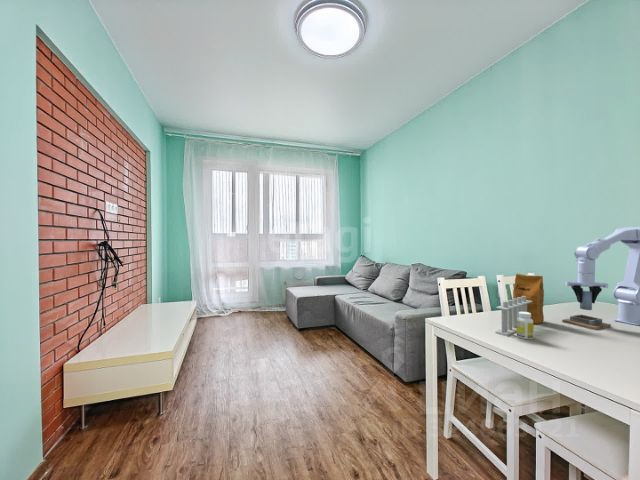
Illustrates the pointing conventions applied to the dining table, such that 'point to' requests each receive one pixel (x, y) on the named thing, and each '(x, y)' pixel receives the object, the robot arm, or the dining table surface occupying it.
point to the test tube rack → (511, 314)
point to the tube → (586, 300)
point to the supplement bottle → (525, 325)
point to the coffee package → (531, 294)
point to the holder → (586, 322)
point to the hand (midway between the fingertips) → (585, 302)
